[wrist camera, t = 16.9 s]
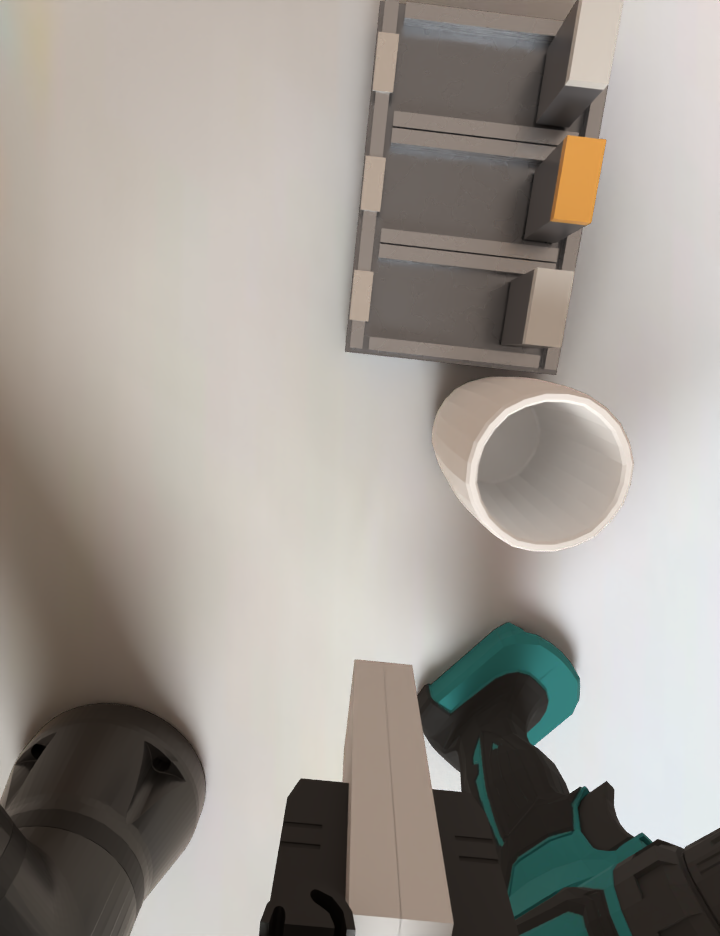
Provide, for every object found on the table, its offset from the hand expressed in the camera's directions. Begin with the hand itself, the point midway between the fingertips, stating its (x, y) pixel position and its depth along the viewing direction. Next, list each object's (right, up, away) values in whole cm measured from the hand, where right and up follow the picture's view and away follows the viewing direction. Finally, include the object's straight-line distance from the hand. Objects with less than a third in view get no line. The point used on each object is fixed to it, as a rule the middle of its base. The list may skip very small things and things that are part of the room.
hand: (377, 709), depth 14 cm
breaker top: (+11, +29, +18) cm, 36 cm away
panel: (+7, +23, +22) cm, 33 cm away
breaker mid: (+11, +22, +19) cm, 32 cm away
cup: (+8, +9, +25) cm, 28 cm away
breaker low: (+10, +16, +21) cm, 28 cm away
